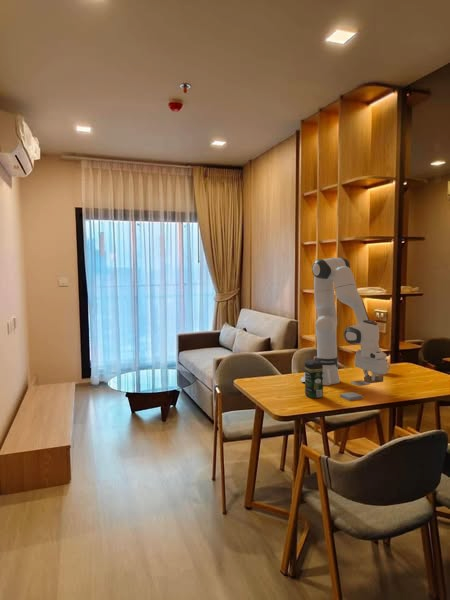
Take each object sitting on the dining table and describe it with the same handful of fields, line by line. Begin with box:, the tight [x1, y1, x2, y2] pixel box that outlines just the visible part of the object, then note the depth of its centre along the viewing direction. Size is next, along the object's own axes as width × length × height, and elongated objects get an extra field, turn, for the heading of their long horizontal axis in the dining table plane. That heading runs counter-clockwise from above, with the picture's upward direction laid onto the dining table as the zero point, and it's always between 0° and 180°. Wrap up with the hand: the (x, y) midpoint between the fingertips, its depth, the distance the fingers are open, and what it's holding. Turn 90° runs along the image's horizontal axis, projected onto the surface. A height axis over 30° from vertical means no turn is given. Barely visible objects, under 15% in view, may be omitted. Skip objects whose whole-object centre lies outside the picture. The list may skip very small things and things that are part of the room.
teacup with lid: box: [377, 358, 391, 376], centre depth 250 cm, size 12×9×12 cm
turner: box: [350, 374, 384, 387], centre depth 207 cm, size 17×6×3 cm, turn 110°
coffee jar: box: [304, 359, 324, 399], centre depth 207 cm, size 10×8×19 cm
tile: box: [339, 391, 363, 402], centre depth 203 cm, size 2×7×8 cm
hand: (369, 379), depth 207 cm, fingers closed on turner, 3 cm apart
